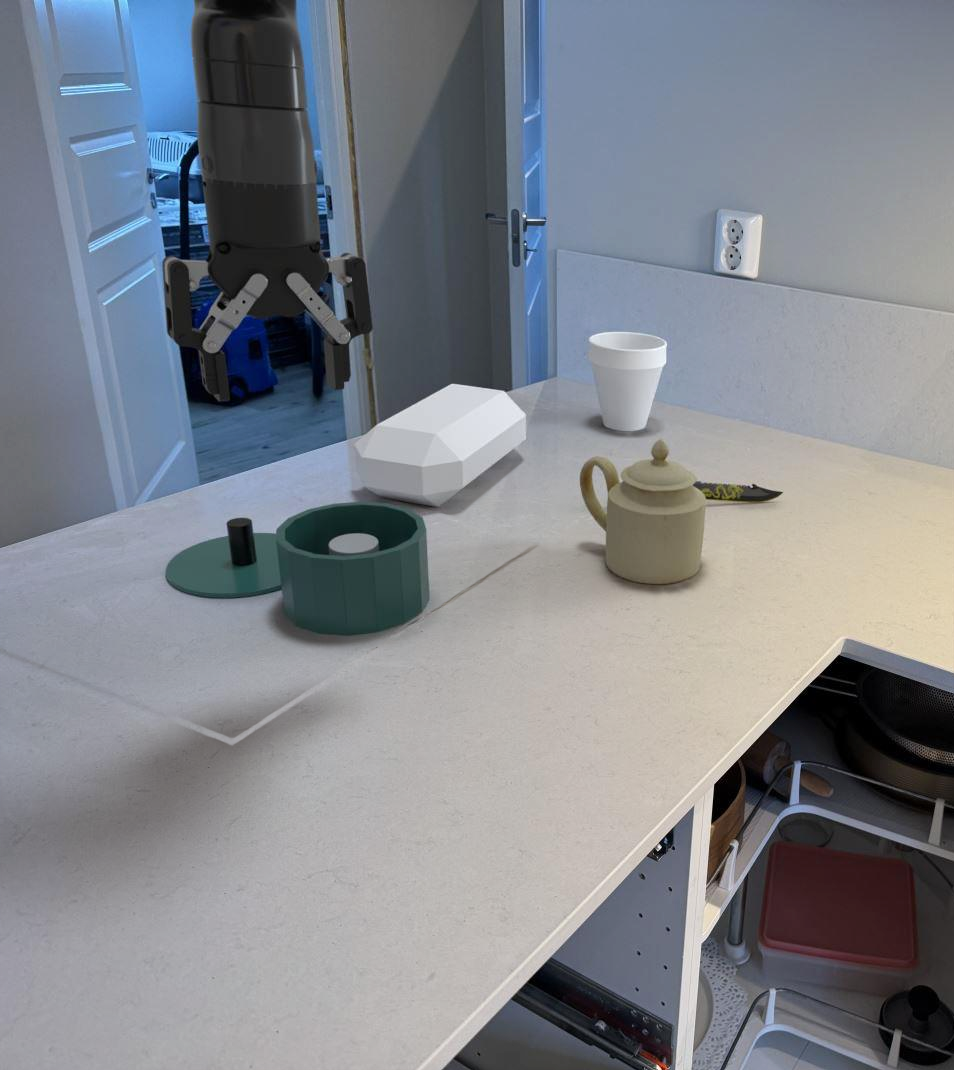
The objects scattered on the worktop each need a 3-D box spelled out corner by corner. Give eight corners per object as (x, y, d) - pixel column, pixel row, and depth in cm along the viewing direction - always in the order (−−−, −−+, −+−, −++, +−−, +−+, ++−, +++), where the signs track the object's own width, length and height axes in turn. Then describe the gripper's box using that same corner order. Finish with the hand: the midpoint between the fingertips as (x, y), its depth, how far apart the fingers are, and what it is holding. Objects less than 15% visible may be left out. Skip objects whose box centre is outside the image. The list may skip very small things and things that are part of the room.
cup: (631, 442, 152) (635, 354, 146) (570, 424, 157) (571, 339, 152) (677, 424, 161) (683, 341, 156) (618, 408, 167) (621, 327, 161)
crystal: (334, 430, 118) (442, 374, 143) (340, 504, 122) (444, 437, 147) (447, 446, 116) (536, 387, 141) (449, 522, 120) (536, 451, 145)
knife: (776, 515, 136) (783, 481, 134) (779, 519, 134) (787, 485, 132) (609, 505, 128) (615, 469, 126) (612, 509, 126) (617, 473, 125)
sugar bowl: (562, 576, 109) (564, 447, 103) (581, 536, 119) (583, 416, 113) (697, 589, 108) (707, 460, 102) (704, 547, 118) (713, 428, 112)
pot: (253, 616, 96) (243, 537, 92) (352, 564, 108) (346, 492, 104) (365, 654, 91) (358, 571, 88) (456, 595, 103) (453, 520, 100)
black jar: (323, 605, 98) (317, 545, 95) (356, 586, 102) (351, 529, 99) (360, 616, 97) (355, 556, 94) (392, 597, 100) (388, 539, 98)
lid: (134, 580, 101) (125, 530, 98) (248, 531, 113) (242, 485, 111) (242, 616, 96) (235, 564, 94) (349, 561, 108) (345, 514, 106)
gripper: (342, 171, 78) (354, 373, 84) (137, 165, 69) (168, 389, 76) (377, 182, 72) (387, 396, 79) (160, 176, 64) (191, 417, 71)
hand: (280, 393), depth 77 cm, fingers open, 8 cm apart
